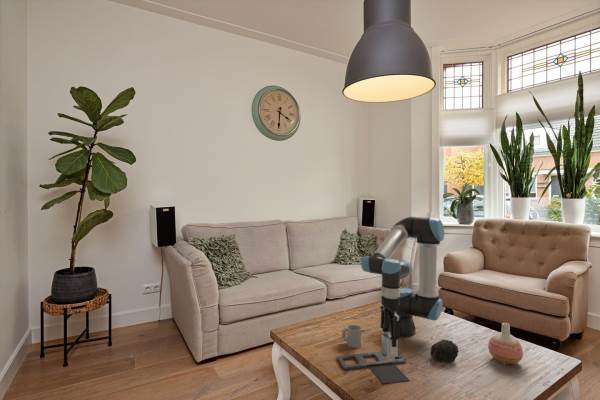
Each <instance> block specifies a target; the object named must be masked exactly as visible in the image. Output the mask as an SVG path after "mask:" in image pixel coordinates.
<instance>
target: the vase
mask: <svg viewBox="0 0 600 400" xmlns="http://www.w3.org/2000/svg"><path fill="white" fill-rule="evenodd" d="M510 330H511V325H510V323H507V322H502V323H501V331H500V332H497V333H495V334H493V335H492V336H491V337H490V339H489V341H488V344H487V348H488V351H489V354H490V355H491V356H492V357H493V358H494V359H495V360H496V362H498V361H499V362H498V363H500V362H502V363H505V364H513V365H515V364H518V363H519V362H520V361H521V360H522V359H523V356H524V351H523V347H522V344H521V343H520V341H519V340H518V339H517V338H516V337H515V336H514V335H512V334H511V331H510ZM502 363H501V364H502ZM505 364H504V365H505Z"/></svg>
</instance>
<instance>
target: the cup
mask: <svg viewBox="0 0 600 400" xmlns="http://www.w3.org/2000/svg"><path fill="white" fill-rule="evenodd" d="M341 338H342V340H343V341H344V342H346V345H347V347H349V348H352V349H358V348H361V346H362V327H361V325H357V324H349V325H347V327H346V328H345V327H344V329H342V332H341Z"/></svg>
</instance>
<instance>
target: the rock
mask: <svg viewBox="0 0 600 400" xmlns="http://www.w3.org/2000/svg"><path fill="white" fill-rule="evenodd" d="M458 354H459V347H458V345H457V344H456V343H454V342H453V341H451V340H449V339H441V340H440V341H437V342H435V343H434V344H432V345H431V347H430V352H429V355H430V357H431V358H432V359H434V360H435V361H437V362H444V363H445V362H446V363H454V361H455V360H457V359H456V358H457V357H458Z"/></svg>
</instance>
